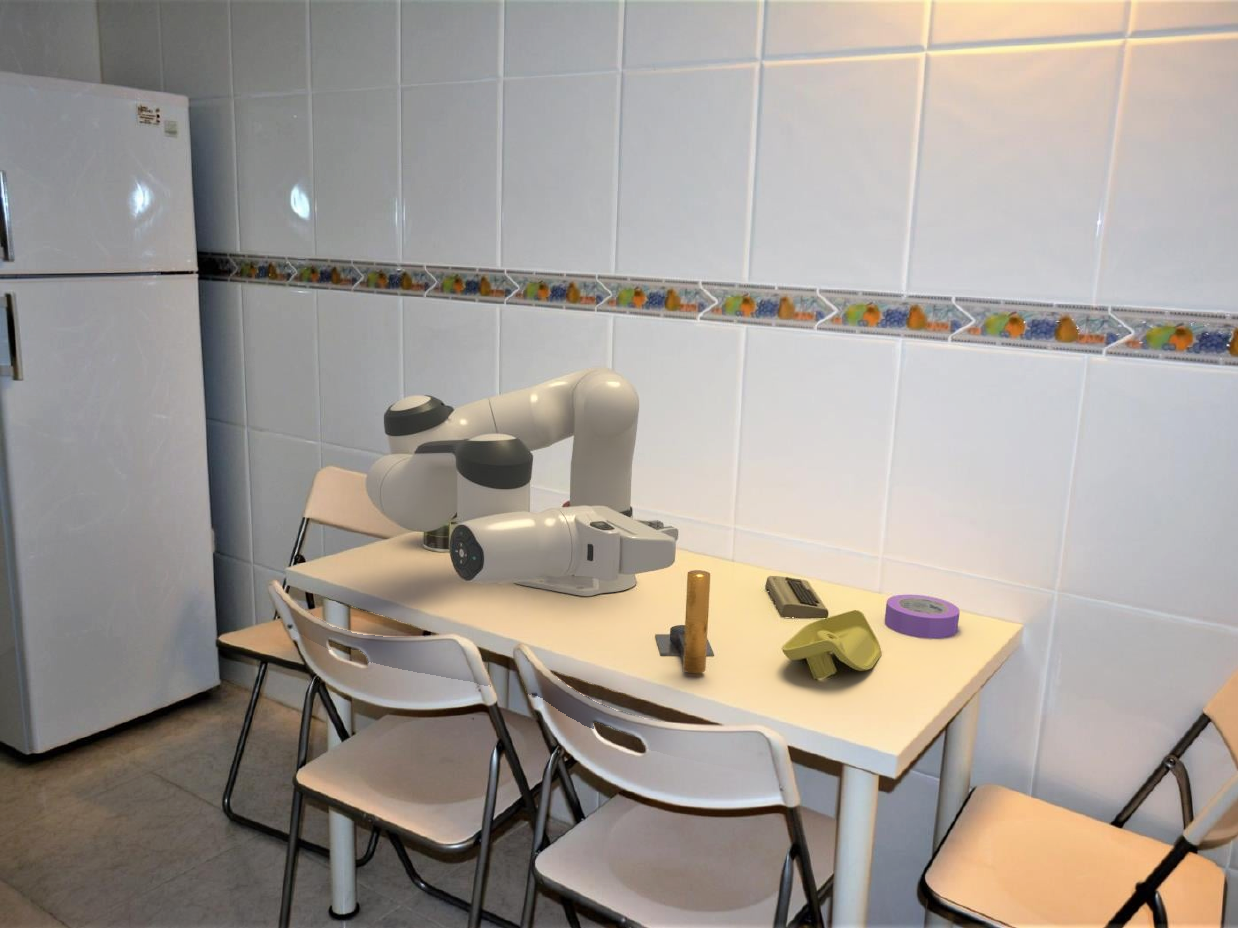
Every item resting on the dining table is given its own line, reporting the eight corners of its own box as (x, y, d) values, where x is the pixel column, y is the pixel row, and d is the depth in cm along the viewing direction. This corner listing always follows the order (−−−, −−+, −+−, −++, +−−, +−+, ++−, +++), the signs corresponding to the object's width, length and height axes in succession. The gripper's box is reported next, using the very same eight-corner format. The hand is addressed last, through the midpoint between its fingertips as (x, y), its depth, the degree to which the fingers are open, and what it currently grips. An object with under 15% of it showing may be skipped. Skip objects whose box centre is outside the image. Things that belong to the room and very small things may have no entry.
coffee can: (422, 553, 202) (422, 483, 199) (423, 539, 212) (422, 473, 209) (475, 552, 204) (475, 483, 201) (473, 538, 214) (473, 472, 211)
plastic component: (807, 623, 162) (867, 606, 158) (824, 667, 162) (884, 651, 158) (772, 654, 144) (838, 636, 140) (790, 704, 144) (857, 687, 140)
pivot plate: (655, 636, 161) (655, 634, 160) (705, 636, 161) (705, 634, 161) (660, 655, 153) (660, 653, 153) (713, 655, 153) (713, 653, 153)
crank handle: (668, 635, 159) (672, 547, 156) (696, 635, 159) (700, 548, 156) (680, 673, 144) (684, 576, 142) (711, 673, 145) (716, 577, 142)
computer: (828, 621, 172) (830, 602, 171) (781, 620, 171) (782, 601, 171) (808, 592, 187) (809, 574, 187) (764, 591, 187) (765, 573, 186)
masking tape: (962, 623, 172) (964, 601, 172) (951, 644, 162) (953, 621, 161) (892, 611, 177) (894, 589, 177) (877, 631, 167) (879, 608, 166)
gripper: (543, 543, 142) (629, 533, 148) (613, 585, 124) (708, 572, 131) (543, 499, 140) (631, 491, 147) (615, 535, 123) (710, 524, 130)
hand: (668, 529), depth 139 cm, fingers open, 2 cm apart
